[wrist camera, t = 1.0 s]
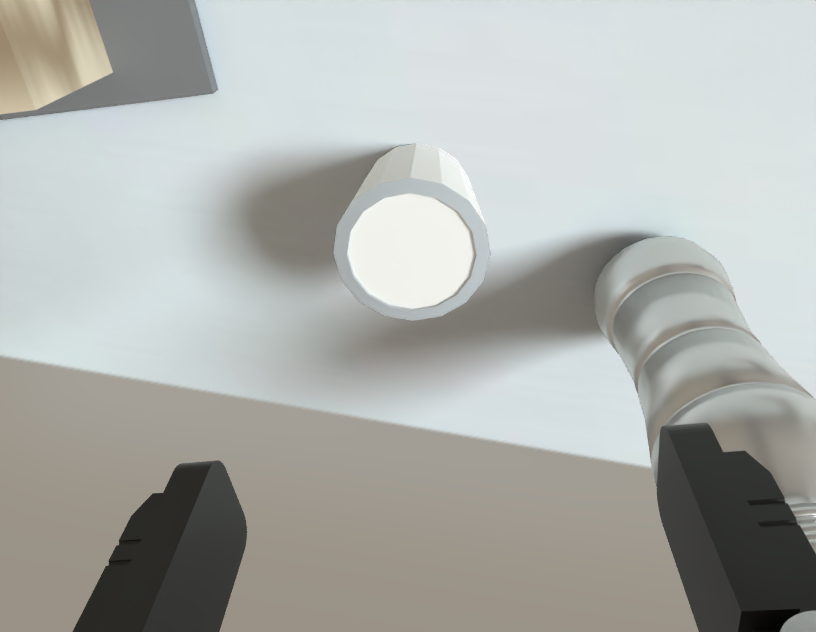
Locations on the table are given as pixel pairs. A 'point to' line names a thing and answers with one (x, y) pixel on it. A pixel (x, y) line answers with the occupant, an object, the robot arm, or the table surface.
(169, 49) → the board
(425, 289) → the white cylinder
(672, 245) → the plastic bottle
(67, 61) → the pale birch block
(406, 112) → the table surface
